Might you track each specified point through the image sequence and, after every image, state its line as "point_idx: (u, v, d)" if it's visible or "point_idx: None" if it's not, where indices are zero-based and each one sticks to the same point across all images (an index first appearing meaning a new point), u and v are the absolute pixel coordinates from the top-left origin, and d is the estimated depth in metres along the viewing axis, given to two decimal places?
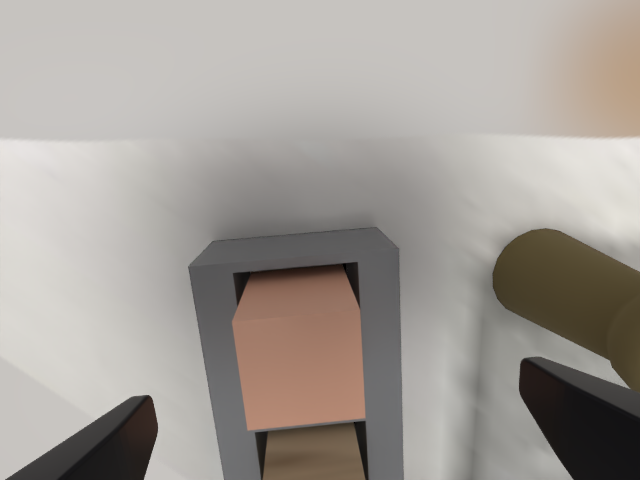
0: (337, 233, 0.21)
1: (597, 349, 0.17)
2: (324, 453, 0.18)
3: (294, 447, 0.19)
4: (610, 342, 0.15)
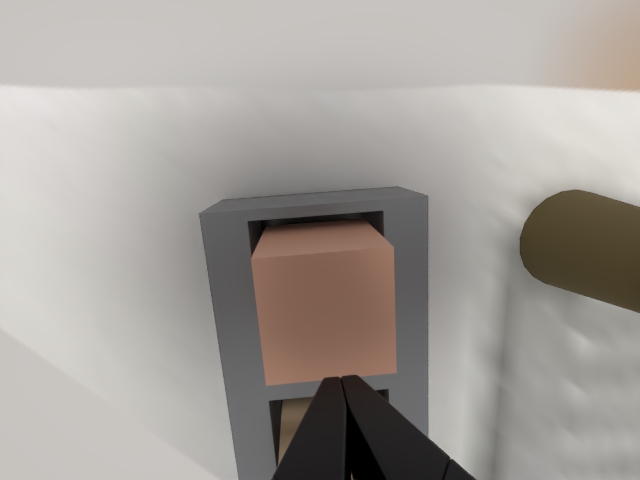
0: (356, 191, 0.20)
1: None
2: None
3: None
4: None
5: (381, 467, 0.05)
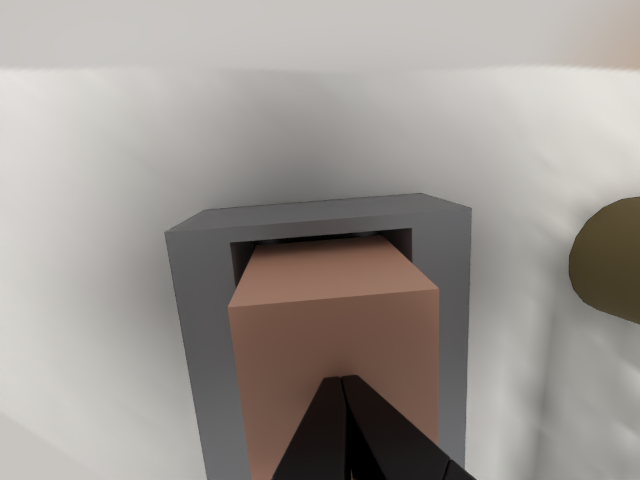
0: (371, 199, 0.16)
1: None
2: None
3: None
4: None
5: (381, 467, 0.05)
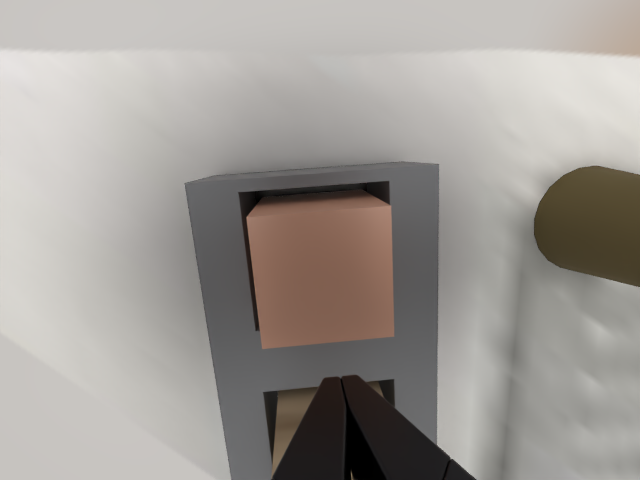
0: (358, 165, 0.18)
1: None
2: None
3: None
4: None
5: (381, 467, 0.05)
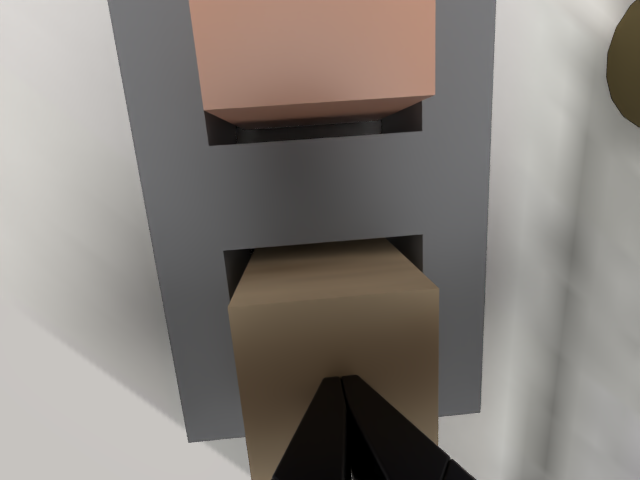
0: None
1: None
2: (345, 260, 0.11)
3: (294, 259, 0.11)
4: None
5: (381, 467, 0.05)
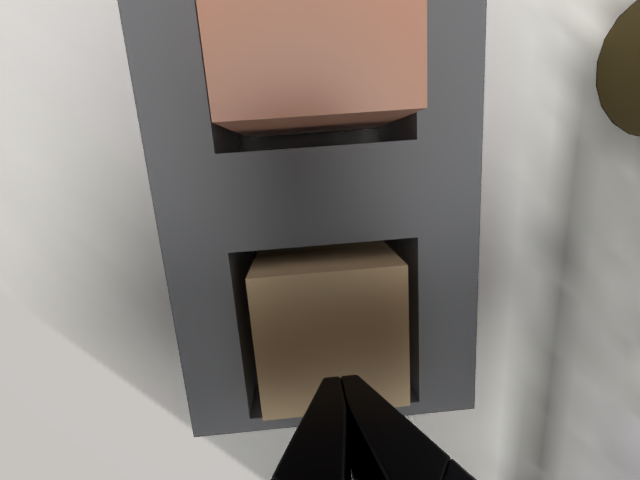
0: None
1: None
2: (338, 247, 0.13)
3: (296, 247, 0.14)
4: None
5: (381, 467, 0.05)
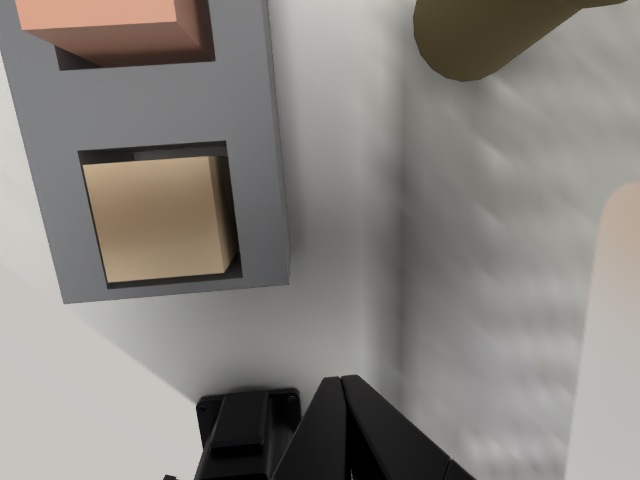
0: None
1: None
2: None
3: None
4: None
5: (381, 467, 0.05)
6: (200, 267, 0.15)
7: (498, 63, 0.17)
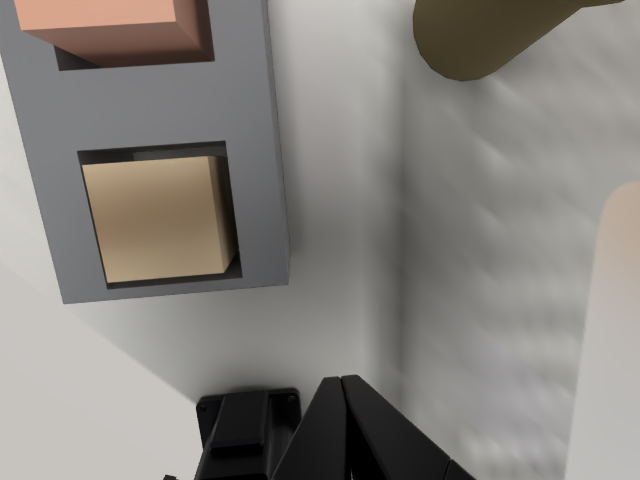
0: None
1: None
2: None
3: None
4: None
5: (381, 467, 0.05)
6: (200, 267, 0.15)
7: (498, 63, 0.17)
